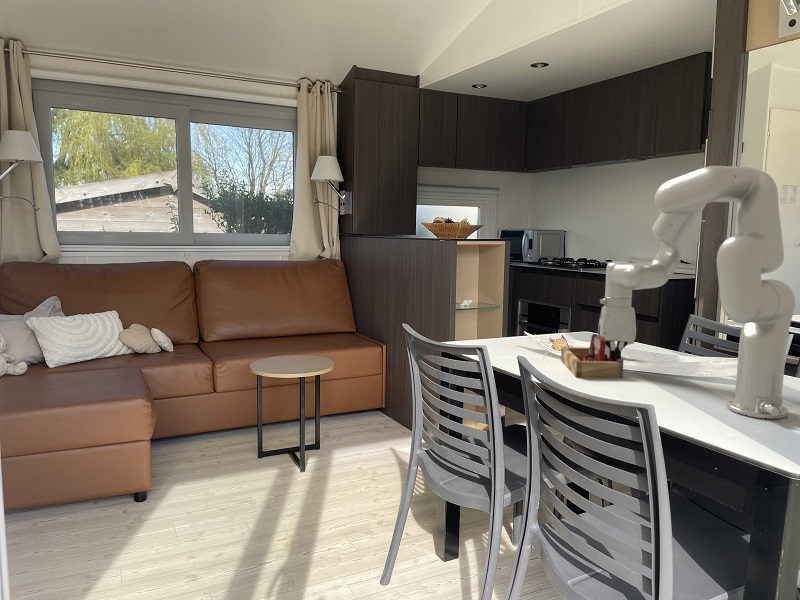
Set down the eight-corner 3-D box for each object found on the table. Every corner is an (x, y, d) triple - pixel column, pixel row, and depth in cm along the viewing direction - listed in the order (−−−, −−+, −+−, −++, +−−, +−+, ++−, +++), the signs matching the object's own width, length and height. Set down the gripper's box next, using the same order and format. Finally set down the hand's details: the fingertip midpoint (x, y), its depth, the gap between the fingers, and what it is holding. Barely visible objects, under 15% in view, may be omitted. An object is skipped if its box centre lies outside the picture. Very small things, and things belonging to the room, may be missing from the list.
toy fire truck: (603, 363, 184) (604, 331, 183) (614, 374, 172) (615, 339, 170) (580, 363, 185) (582, 331, 183) (589, 374, 173) (591, 339, 171)
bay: (622, 377, 168) (623, 360, 168) (576, 377, 169) (576, 359, 168) (602, 361, 187) (603, 345, 186) (561, 360, 188) (561, 345, 187)
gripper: (596, 304, 171) (593, 365, 174) (647, 304, 171) (644, 365, 173) (589, 300, 179) (586, 359, 181) (638, 301, 178) (635, 359, 181)
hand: (614, 362), depth 177 cm, fingers closed
